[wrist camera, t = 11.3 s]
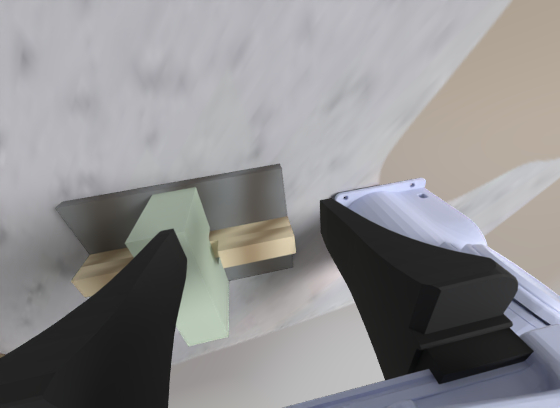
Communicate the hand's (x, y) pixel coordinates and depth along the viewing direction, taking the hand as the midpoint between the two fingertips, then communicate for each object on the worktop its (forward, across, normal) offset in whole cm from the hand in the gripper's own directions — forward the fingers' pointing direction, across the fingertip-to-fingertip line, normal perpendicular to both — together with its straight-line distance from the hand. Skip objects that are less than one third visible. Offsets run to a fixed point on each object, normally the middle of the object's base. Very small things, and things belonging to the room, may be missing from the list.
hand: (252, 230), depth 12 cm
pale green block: (+9, +6, +7) cm, 13 cm away
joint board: (+10, +6, +7) cm, 14 cm away
